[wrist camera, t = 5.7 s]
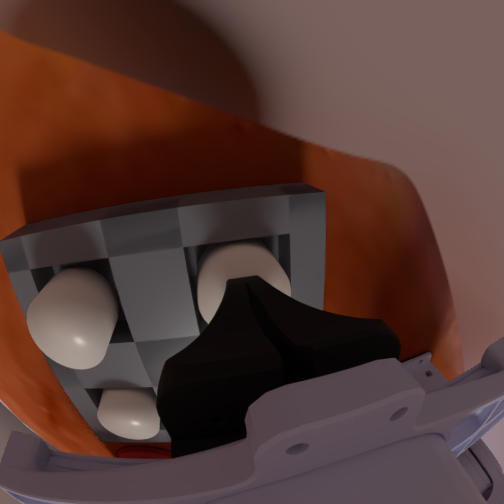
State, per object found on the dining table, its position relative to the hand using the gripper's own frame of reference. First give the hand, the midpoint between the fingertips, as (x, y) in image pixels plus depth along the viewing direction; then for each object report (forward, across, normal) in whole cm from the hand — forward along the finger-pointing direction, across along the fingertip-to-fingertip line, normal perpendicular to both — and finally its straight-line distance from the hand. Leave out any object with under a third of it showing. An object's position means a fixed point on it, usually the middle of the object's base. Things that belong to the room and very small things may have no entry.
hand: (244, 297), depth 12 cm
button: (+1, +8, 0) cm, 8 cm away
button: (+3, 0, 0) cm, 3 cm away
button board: (+4, +4, +4) cm, 7 cm away
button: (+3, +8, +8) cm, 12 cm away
